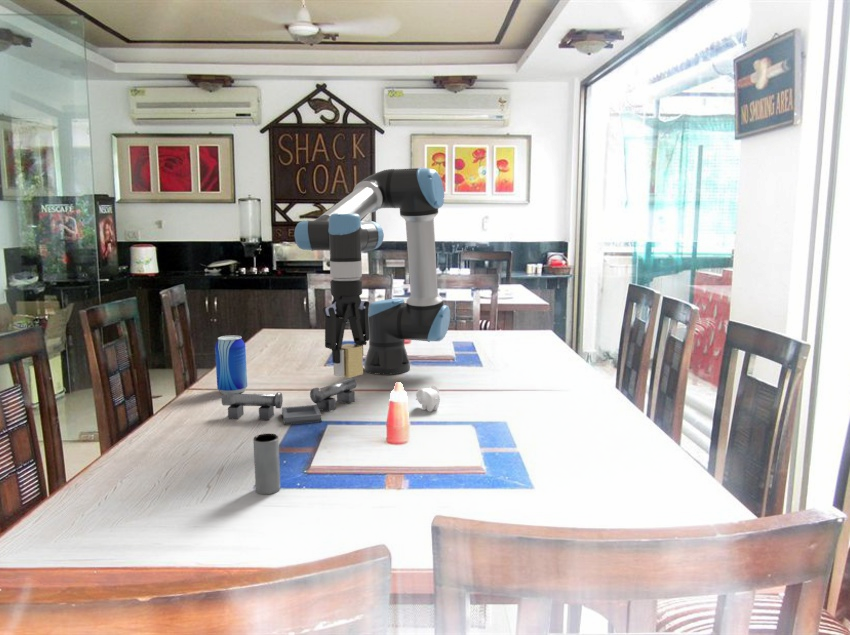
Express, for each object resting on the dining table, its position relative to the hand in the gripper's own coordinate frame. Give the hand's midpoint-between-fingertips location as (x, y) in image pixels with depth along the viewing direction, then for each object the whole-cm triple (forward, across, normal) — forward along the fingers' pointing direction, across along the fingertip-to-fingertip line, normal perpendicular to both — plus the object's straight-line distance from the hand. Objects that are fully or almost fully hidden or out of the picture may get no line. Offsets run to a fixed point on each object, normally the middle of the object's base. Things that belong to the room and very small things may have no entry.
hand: (348, 373), depth 160 cm
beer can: (+13, 0, -48) cm, 49 cm away
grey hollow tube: (+13, +38, +15) cm, 43 cm away
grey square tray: (+13, +5, -12) cm, 18 cm away
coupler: (0, 0, 0) cm, 0 cm away
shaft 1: (+13, +12, -23) cm, 29 cm away
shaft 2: (+13, -8, -13) cm, 20 cm away
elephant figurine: (+13, -21, +9) cm, 26 cm away
